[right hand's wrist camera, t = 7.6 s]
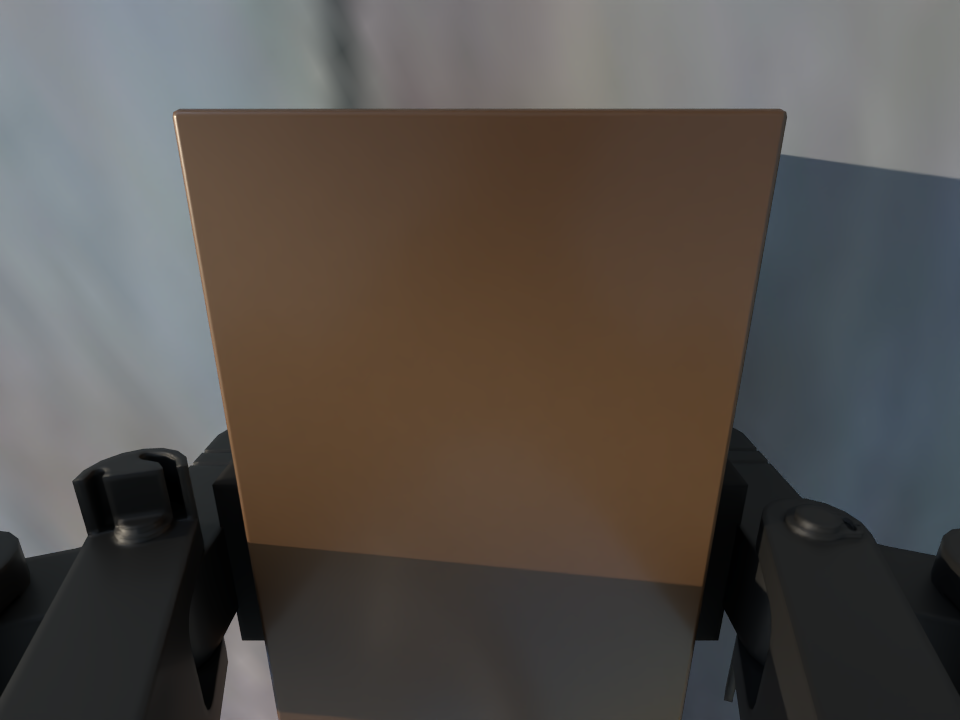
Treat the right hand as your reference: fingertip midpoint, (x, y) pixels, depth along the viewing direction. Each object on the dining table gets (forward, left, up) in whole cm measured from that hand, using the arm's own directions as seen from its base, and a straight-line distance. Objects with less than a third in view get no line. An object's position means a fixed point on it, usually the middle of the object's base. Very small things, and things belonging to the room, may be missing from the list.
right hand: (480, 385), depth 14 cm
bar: (+13, +23, -1) cm, 26 cm away
